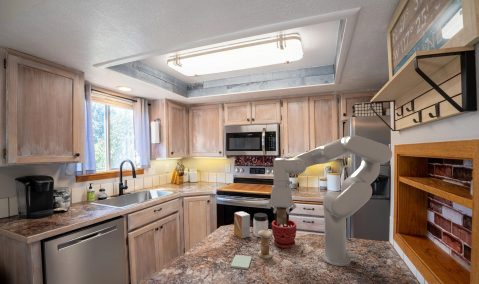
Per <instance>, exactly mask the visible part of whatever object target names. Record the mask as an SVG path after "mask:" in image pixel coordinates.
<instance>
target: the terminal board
mask: <svg viewBox="0 0 479 284" xmlns="http://www.w3.org/2000/svg"><path fill="white" fill-rule="evenodd" d="M252 258H253V257H252V255H251V256H249V255H241V254H240V255H239V254H235V255H234V257H233V259H232V261H231V264H230V268H232V269H241V270H249V268H250V266H251V261H252Z"/></svg>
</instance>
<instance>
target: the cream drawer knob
mask: <svg viewBox="0 0 479 284" xmlns="http://www.w3.org/2000/svg"><path fill="white" fill-rule="evenodd" d="M258 236H260V237H259V238H260V250H259V251H258V252H257V255H258V256H257V257H258V258H260V259H262V260H269V259H272V257H273V252H272V251H270V238H271V237H273V233H272V230H271V231H270V230H269V229H268V230H261V231H259V232H258Z"/></svg>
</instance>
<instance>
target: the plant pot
mask: <svg viewBox="0 0 479 284" xmlns="http://www.w3.org/2000/svg"><path fill="white" fill-rule="evenodd" d="M280 225H282V226H280ZM271 232H272V237H273V243H274V245H275V246H277V247H278V248H282V249H291V248H293V247H294V246H295V245H296V241H295V239H296V237H297V223H296V222H295V221H293V220H292V219H289V220H288V222H286V224H277V221H276V222H275V220H273V221H272V222H271Z"/></svg>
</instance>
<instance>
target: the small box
mask: <svg viewBox="0 0 479 284" xmlns="http://www.w3.org/2000/svg"><path fill="white" fill-rule="evenodd" d="M233 214H234V215H233V234H234V235H236V236H237V237H239V238H241V239H244V238H248V237H250V236H251V214H249V213H247V212H245V211H236V212H234V213H233Z"/></svg>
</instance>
